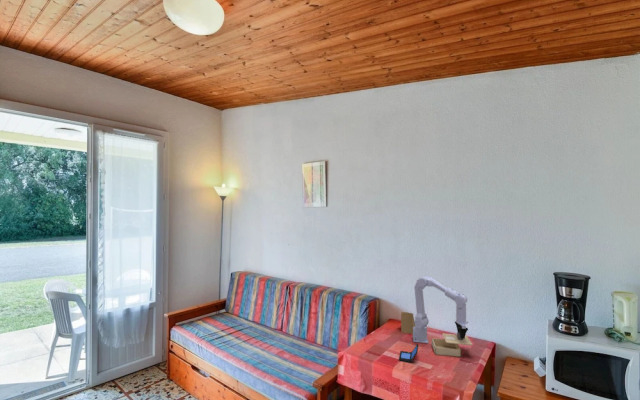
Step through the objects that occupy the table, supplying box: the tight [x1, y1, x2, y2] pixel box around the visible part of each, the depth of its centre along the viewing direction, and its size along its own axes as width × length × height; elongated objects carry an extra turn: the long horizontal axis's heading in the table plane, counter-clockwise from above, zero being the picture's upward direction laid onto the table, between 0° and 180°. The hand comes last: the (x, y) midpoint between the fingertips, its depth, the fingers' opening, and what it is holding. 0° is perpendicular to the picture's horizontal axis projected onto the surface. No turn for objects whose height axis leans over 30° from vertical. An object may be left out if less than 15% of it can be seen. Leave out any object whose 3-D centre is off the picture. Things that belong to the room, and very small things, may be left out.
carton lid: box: [441, 331, 473, 346], centre depth 201 cm, size 15×14×4 cm
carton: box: [431, 337, 462, 358], centre depth 202 cm, size 15×14×4 cm
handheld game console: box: [398, 343, 419, 364], centre depth 192 cm, size 12×11×7 cm
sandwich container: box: [400, 311, 416, 335], centre depth 238 cm, size 9×15×15 cm, turn 155°
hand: (461, 336), depth 201 cm, fingers open, 7 cm apart
